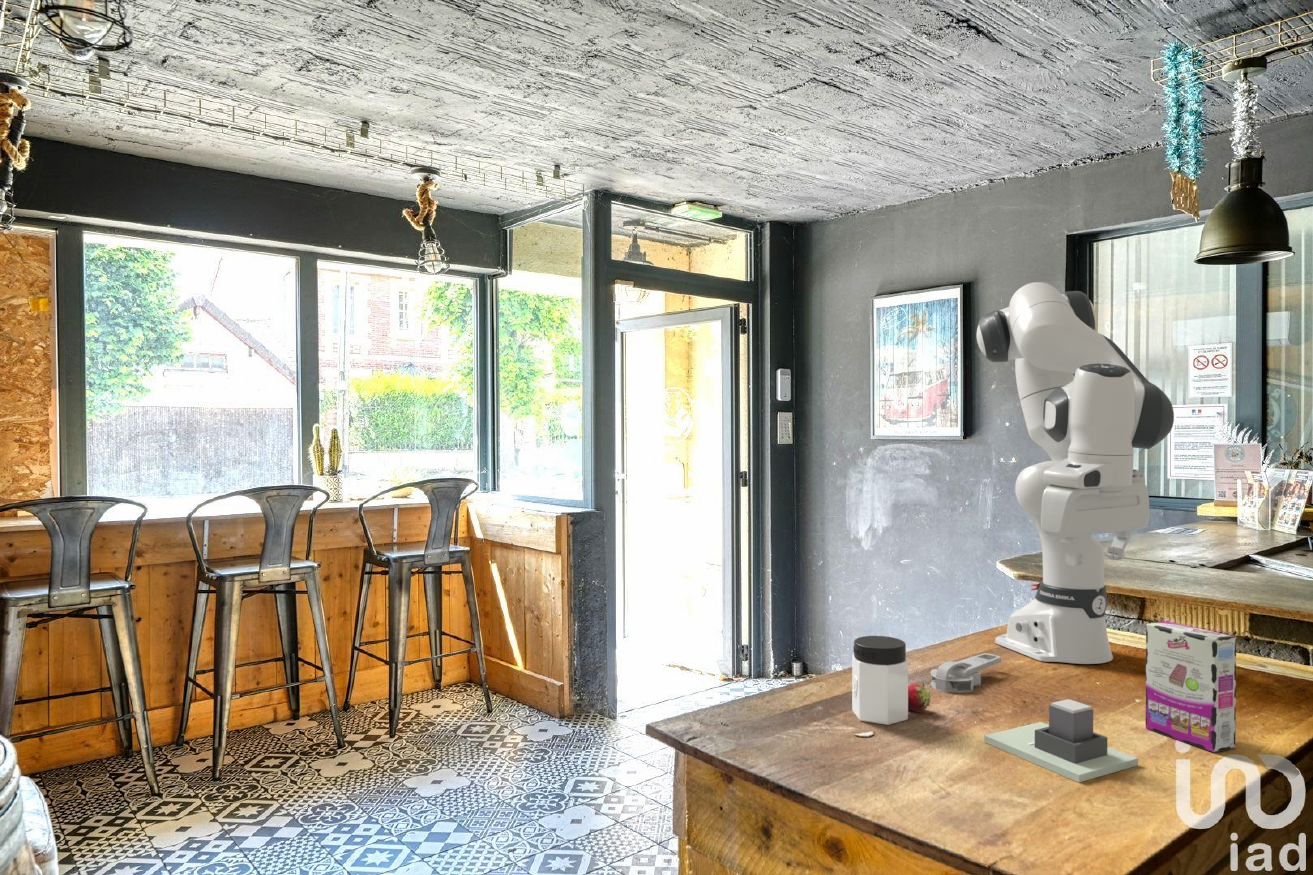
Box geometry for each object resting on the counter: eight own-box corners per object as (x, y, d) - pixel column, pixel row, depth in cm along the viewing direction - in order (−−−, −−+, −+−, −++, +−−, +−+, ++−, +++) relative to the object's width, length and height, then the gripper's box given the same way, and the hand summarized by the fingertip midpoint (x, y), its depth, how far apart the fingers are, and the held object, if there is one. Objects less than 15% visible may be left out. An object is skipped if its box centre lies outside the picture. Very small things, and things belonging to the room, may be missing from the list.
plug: (1048, 747, 124) (1049, 702, 124) (1068, 742, 126) (1068, 698, 126) (1073, 757, 121) (1073, 711, 121) (1093, 751, 123) (1093, 706, 122)
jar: (847, 706, 146) (847, 635, 145) (895, 705, 146) (895, 634, 146) (861, 726, 137) (861, 649, 136) (913, 724, 137) (913, 648, 137)
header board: (984, 741, 130) (984, 718, 130) (1040, 728, 135) (1040, 705, 135) (1078, 782, 115) (1079, 756, 115) (1138, 765, 121) (1138, 740, 121)
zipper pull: (1013, 675, 162) (1013, 652, 162) (959, 696, 151) (959, 671, 151) (974, 666, 168) (974, 644, 168) (919, 685, 157) (919, 662, 157)
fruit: (907, 703, 147) (907, 673, 147) (937, 712, 143) (937, 682, 142) (890, 708, 145) (890, 678, 145) (920, 718, 140) (920, 687, 140)
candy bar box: (1237, 748, 126) (1239, 635, 126) (1214, 754, 124) (1215, 639, 124) (1165, 723, 137) (1166, 619, 136) (1143, 728, 135) (1144, 622, 134)
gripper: (1125, 466, 140) (1120, 552, 141) (1035, 472, 131) (1031, 563, 132) (1163, 471, 134) (1158, 560, 135) (1071, 477, 125) (1067, 572, 126)
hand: (1094, 562), depth 133 cm, fingers open, 8 cm apart
